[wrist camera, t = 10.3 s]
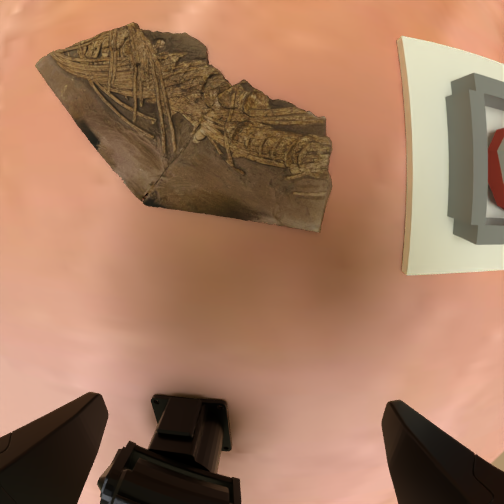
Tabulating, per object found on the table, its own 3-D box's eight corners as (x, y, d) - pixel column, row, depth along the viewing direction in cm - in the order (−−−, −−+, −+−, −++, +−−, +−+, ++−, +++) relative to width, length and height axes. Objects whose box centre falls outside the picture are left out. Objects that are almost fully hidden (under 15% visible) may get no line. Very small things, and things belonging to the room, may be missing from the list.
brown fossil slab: (373, 157, 19) (378, 157, 18) (272, 290, 22) (272, 296, 20) (86, -5, 16) (79, -9, 15) (17, 108, 19) (9, 107, 18)
